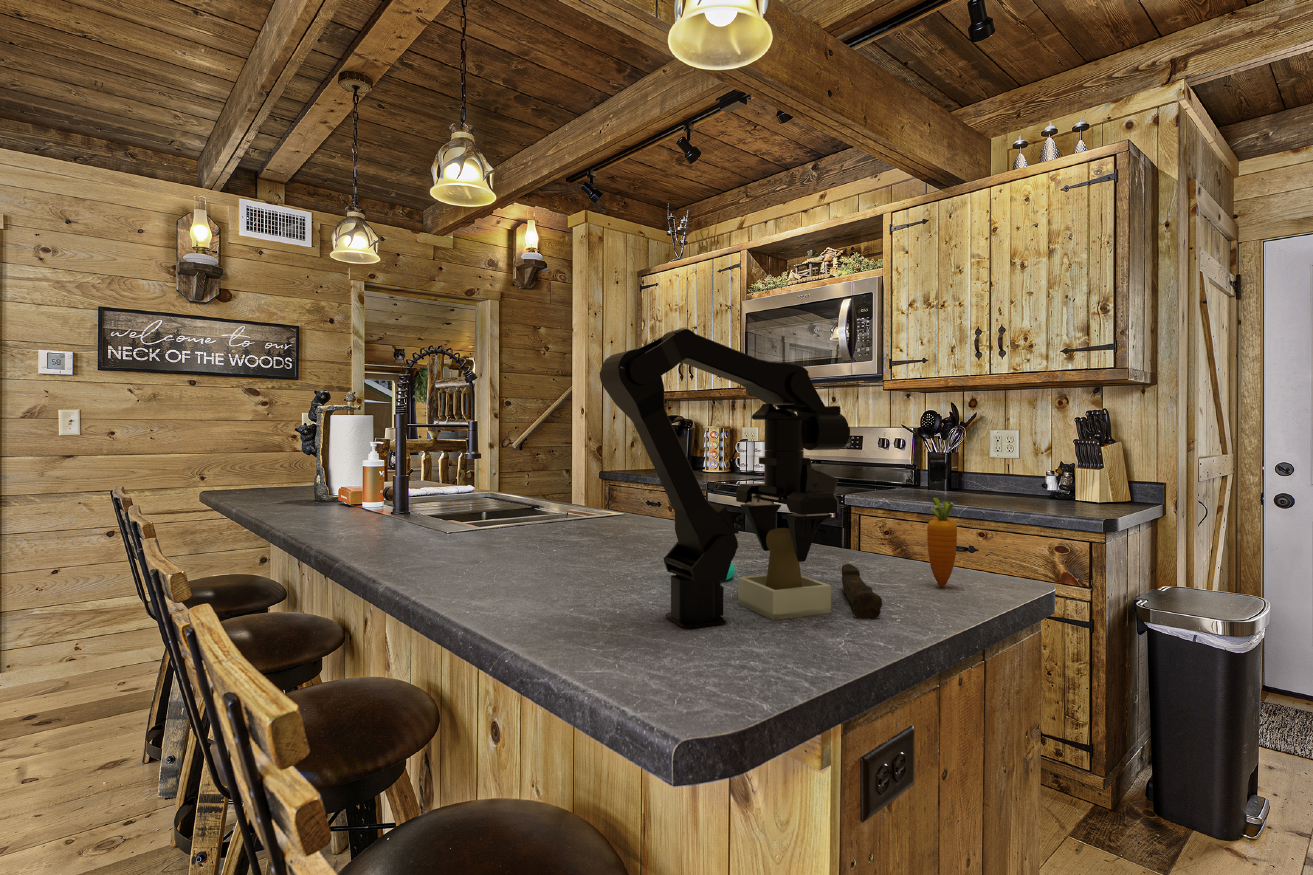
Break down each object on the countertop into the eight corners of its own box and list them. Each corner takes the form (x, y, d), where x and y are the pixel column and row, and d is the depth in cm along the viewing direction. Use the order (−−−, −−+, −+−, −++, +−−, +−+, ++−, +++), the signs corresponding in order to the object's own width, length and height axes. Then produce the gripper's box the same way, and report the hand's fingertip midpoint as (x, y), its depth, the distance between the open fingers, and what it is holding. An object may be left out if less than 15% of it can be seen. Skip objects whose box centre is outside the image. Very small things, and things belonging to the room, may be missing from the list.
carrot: (962, 590, 112) (963, 500, 112) (932, 590, 112) (933, 499, 112) (950, 584, 117) (951, 496, 117) (921, 583, 117) (921, 496, 117)
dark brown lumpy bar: (882, 621, 95) (882, 588, 95) (852, 620, 96) (853, 587, 96) (863, 590, 114) (863, 562, 114) (838, 589, 114) (838, 561, 114)
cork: (759, 605, 99) (759, 530, 99) (768, 596, 105) (768, 525, 105) (801, 609, 97) (800, 532, 97) (808, 599, 103) (807, 526, 103)
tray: (773, 620, 95) (773, 591, 95) (738, 603, 104) (738, 577, 104) (831, 612, 98) (831, 585, 98) (792, 597, 107) (792, 572, 107)
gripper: (870, 452, 95) (869, 563, 95) (793, 448, 112) (793, 542, 113) (803, 453, 91) (802, 569, 91) (734, 449, 108) (734, 547, 108)
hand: (783, 555), depth 101 cm, fingers open, 9 cm apart
